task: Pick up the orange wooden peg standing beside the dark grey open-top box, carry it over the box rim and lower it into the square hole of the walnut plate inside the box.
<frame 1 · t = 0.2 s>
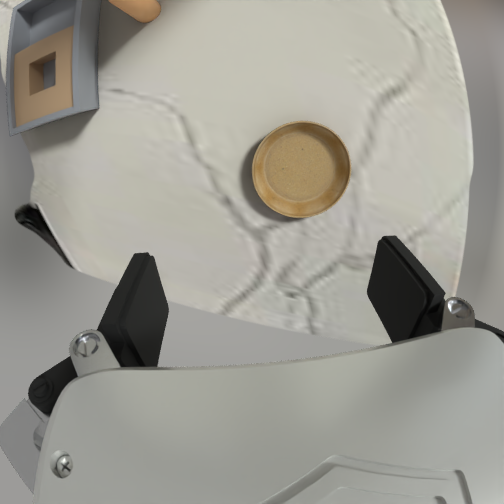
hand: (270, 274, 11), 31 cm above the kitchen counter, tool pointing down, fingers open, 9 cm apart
peg: (147, 11, 25), on the kitchen counter
plant saucer: (299, 166, 40), on the kitchen counter
box: (59, 52, 25), on the kitchen counter
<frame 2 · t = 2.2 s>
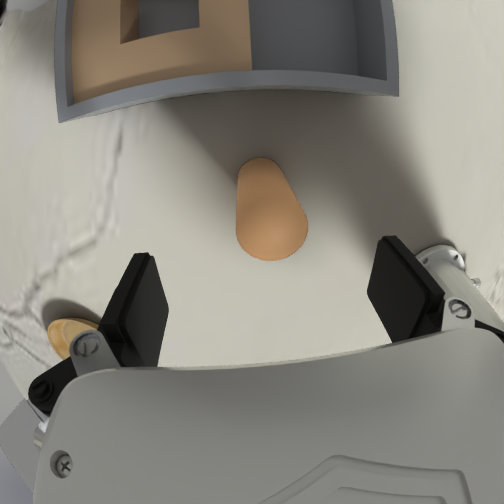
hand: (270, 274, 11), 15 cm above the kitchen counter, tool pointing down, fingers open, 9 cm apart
peg: (260, 179, 24), on the kitchen counter
plant saucer: (93, 341, 35), on the kitchen counter
box: (221, 13, 16), on the kitchen counter
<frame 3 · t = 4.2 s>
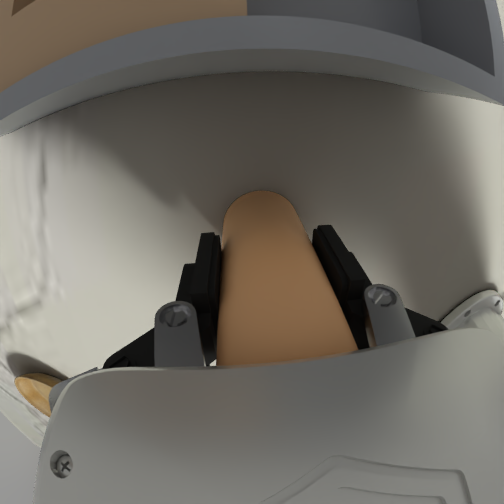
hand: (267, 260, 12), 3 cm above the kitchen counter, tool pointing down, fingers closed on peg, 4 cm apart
peg: (260, 226, 15), on the kitchen counter, touching gripper
plant saucer: (66, 394, 26), on the kitchen counter
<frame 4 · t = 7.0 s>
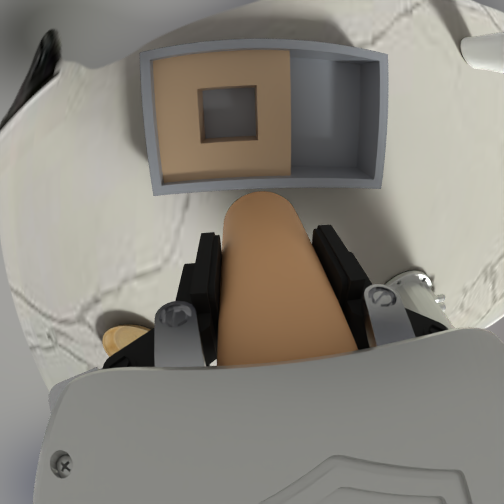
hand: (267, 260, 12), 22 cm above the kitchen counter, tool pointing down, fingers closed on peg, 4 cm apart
drinking glass: (469, 52, 21), on the kitchen counter
peg: (261, 226, 15), point 19 cm above the kitchen counter, touching gripper
plant saucer: (141, 343, 47), on the kitchen counter
box: (265, 111, 28), on the kitchen counter
when the fingers open (6 cm above the kitchen counter, at t = 9.9 s): peg drops 2 cm, resting on box.
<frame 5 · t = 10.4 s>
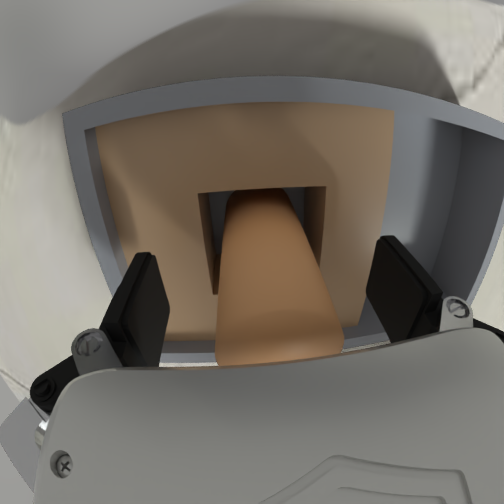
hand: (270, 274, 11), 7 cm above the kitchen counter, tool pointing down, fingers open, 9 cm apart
peg: (259, 212, 16), point 1 cm above the kitchen counter, touching box
box: (318, 202, 17), on the kitchen counter
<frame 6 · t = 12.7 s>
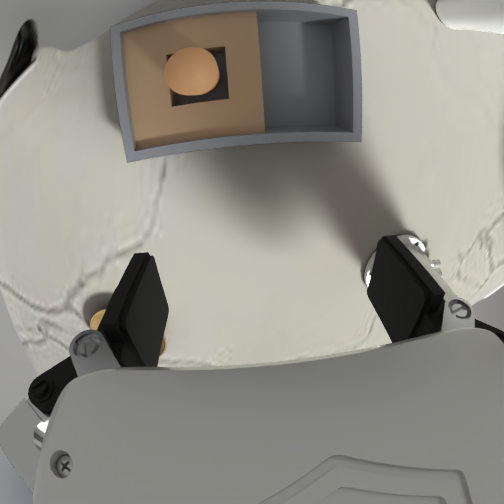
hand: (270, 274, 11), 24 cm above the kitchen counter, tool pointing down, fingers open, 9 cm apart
drinking glass: (445, 14, 19), on the kitchen counter
peg: (201, 78, 25), point 1 cm above the kitchen counter, touching box
plant saucer: (130, 326, 46), on the kitchen counter
box: (237, 74, 26), on the kitchen counter
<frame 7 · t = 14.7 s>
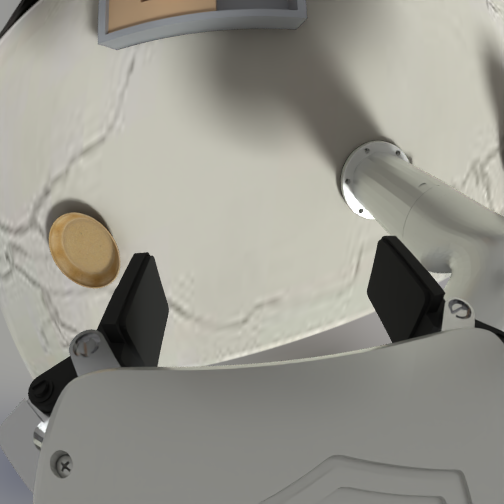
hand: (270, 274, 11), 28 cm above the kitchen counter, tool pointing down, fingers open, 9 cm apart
plant saucer: (88, 244, 41), on the kitchen counter
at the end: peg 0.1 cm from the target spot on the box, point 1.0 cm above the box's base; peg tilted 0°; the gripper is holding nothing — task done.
